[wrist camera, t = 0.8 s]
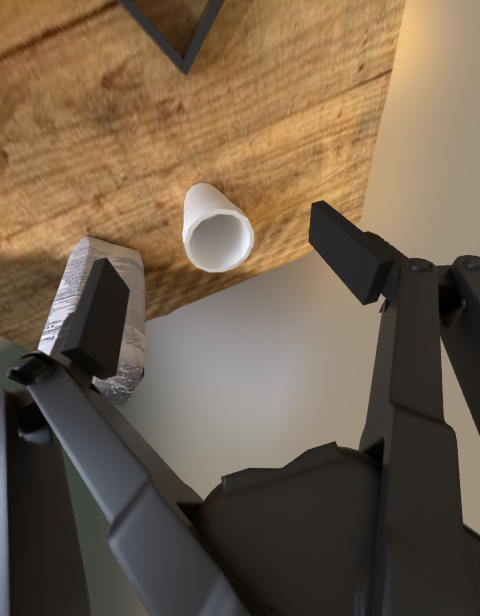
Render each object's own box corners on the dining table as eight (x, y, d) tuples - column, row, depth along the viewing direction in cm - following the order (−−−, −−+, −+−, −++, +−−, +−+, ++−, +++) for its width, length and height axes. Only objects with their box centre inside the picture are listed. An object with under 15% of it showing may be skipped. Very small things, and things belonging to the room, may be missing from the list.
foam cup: (164, 212, 37) (171, 257, 29) (191, 158, 33) (208, 193, 24) (212, 236, 43) (229, 280, 35) (240, 193, 38) (267, 231, 30)
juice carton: (77, 226, 35) (17, 390, 18) (147, 248, 41) (151, 387, 24) (71, 269, 40) (18, 432, 23) (134, 283, 46) (130, 421, 29)
